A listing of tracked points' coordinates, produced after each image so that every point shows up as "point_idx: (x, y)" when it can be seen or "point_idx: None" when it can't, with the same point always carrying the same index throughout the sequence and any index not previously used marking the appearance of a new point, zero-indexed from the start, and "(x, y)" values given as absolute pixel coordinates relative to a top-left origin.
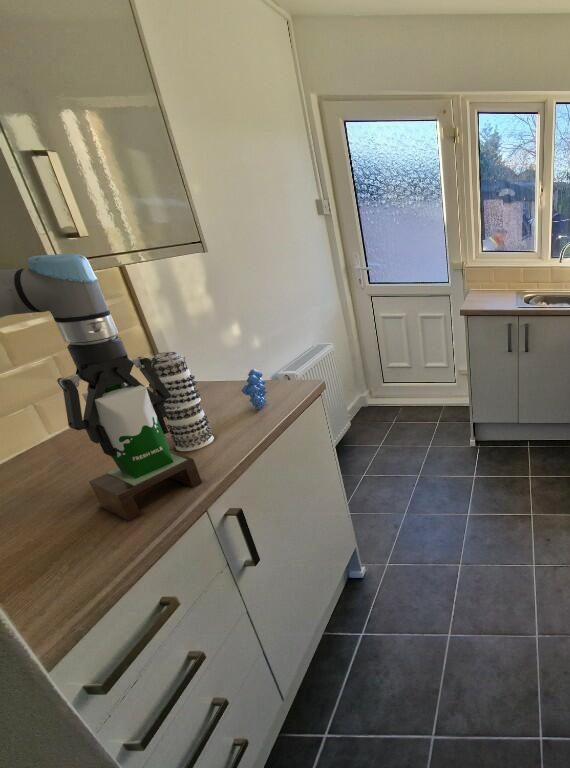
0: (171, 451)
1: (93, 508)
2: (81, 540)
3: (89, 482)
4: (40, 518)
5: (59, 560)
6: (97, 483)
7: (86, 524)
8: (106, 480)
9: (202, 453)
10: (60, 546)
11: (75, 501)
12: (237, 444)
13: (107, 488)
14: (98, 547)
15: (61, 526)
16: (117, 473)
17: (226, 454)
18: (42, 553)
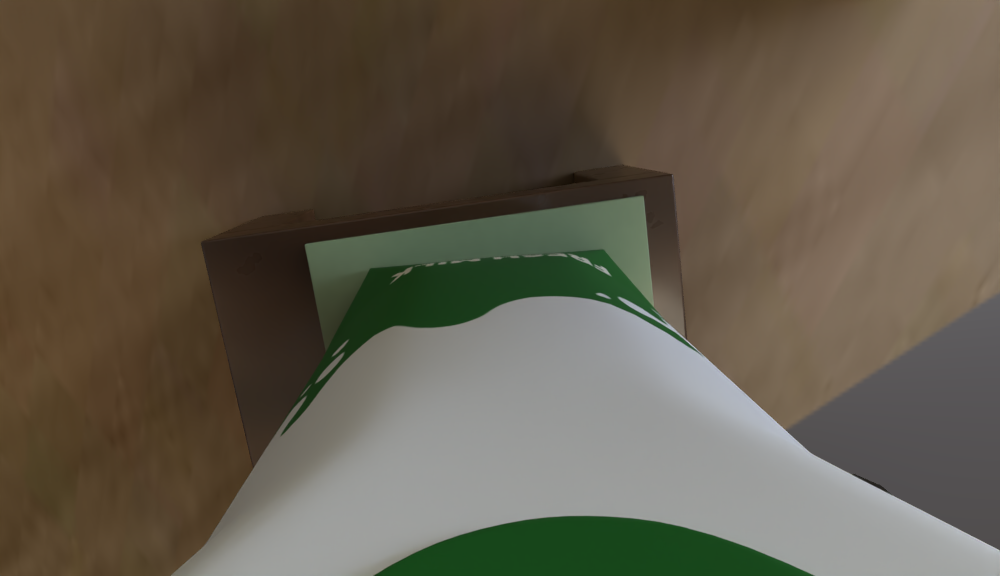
0: (673, 282)
1: (230, 196)
2: (141, 450)
3: (203, 245)
4: (23, 47)
5: (57, 524)
6: (231, 328)
7: (179, 330)
8: (277, 336)
9: (817, 88)
10: (70, 420)
11: (179, 16)
12: (983, 171)
13: (258, 446)
14: (181, 563)
15: (93, 240)
16: (344, 312)
17: (877, 240)
18: (9, 410)
